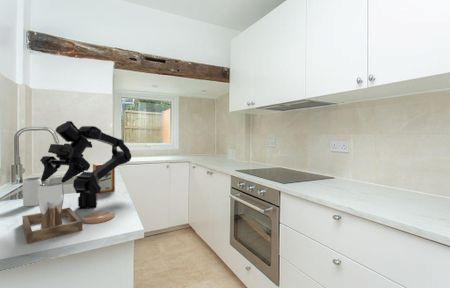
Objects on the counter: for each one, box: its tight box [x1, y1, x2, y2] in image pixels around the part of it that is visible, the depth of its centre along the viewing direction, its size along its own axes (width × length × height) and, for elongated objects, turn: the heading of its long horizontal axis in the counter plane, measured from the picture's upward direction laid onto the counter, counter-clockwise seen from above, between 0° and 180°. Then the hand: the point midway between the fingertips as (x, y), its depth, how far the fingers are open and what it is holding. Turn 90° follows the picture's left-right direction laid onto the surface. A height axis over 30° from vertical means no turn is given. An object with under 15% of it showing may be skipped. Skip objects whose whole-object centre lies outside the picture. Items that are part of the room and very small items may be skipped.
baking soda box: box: [92, 162, 116, 195], centre depth 128 cm, size 10×6×16 cm
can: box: [22, 177, 43, 208], centre depth 102 cm, size 6×6×12 cm
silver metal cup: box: [38, 181, 65, 230], centre depth 78 cm, size 7×7×15 cm
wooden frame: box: [22, 207, 83, 245], centre depth 78 cm, size 14×20×3 cm
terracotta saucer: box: [81, 211, 115, 225], centre depth 87 cm, size 11×11×1 cm
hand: (52, 181), depth 84 cm, fingers open, 9 cm apart
